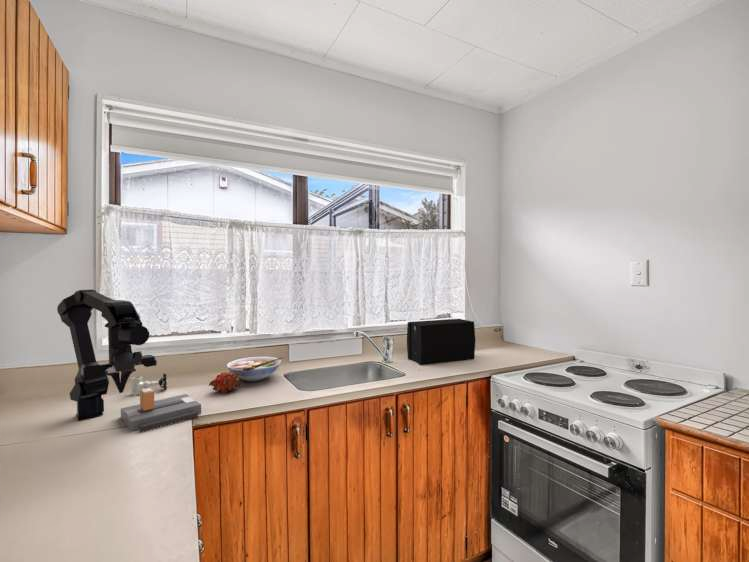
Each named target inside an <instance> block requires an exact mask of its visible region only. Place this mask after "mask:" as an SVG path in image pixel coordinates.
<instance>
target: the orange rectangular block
mask: <svg viewBox="0 0 749 562" xmlns="http://www.w3.org/2000/svg"><path fill="white" fill-rule="evenodd" d="M154 401H155V391H154V390H153V389H152V388H151V387H148V388H146V389H145V388H143V389H142V390H140V395H139V403H140V407H141V409H142V410H143V411H145V410H150V409H154Z"/></svg>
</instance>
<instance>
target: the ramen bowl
mask: <svg viewBox="0 0 749 562" xmlns="http://www.w3.org/2000/svg"><path fill="white" fill-rule="evenodd" d="M284 358H285V356H283V357H279V358H277V357H273V356H251V357H243V358H239V359H235V360H233V361H232V360H231V361H229V362H228V363H227V364H226V367H227V369H228V370H229V371H231V372H233V373H234V374H235V373H236V374H238V376H240V378H241V380H243V381H246V382H251V381H252V382H260V381H262V380H264V379H266V378H268V377H269V376H272V375H273V374H274V373H275V372H276V371H277V370H278V368H279V366H280V363H281V362H282V360H281V359H284Z"/></svg>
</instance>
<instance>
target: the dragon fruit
mask: <svg viewBox="0 0 749 562" xmlns="http://www.w3.org/2000/svg"><path fill="white" fill-rule="evenodd" d="M241 382H242V379H241V378H240V376H238V374H236V373H235V374H234V373H233V372H231V371H230V370H229V371H228V372H225V371H222V372H221V373H220V374H217V375H216V378H214V379H213V380H212V381H210V382H209V384H208V386H211V387H212V390H213V391H215V392H220V391H223V393H224V394H226V393H228V392H230V391H231V392H233V391H234V389H236V388H239V387H240V386H241Z"/></svg>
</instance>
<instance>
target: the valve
mask: <svg viewBox="0 0 749 562" xmlns="http://www.w3.org/2000/svg"><path fill="white" fill-rule="evenodd" d="M143 379H144V377H143V376H141V375H140V376H133V377H131V378H130V382H131V384H130V390H131V391H130V393H131V394H132V395H131V396H133V395H136V396H139V395H138V394H140V390H142V389H147V388H151V386H152V387H156V386H157V385H158V386H159V387H160V388H162V389H163V391H166V390H168V387H167V385H168V383H167V373H163V374H162V377H161V378H160V379H159V380H158V381H156V380H153V381H149V380H143ZM165 389H166V390H165Z"/></svg>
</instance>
